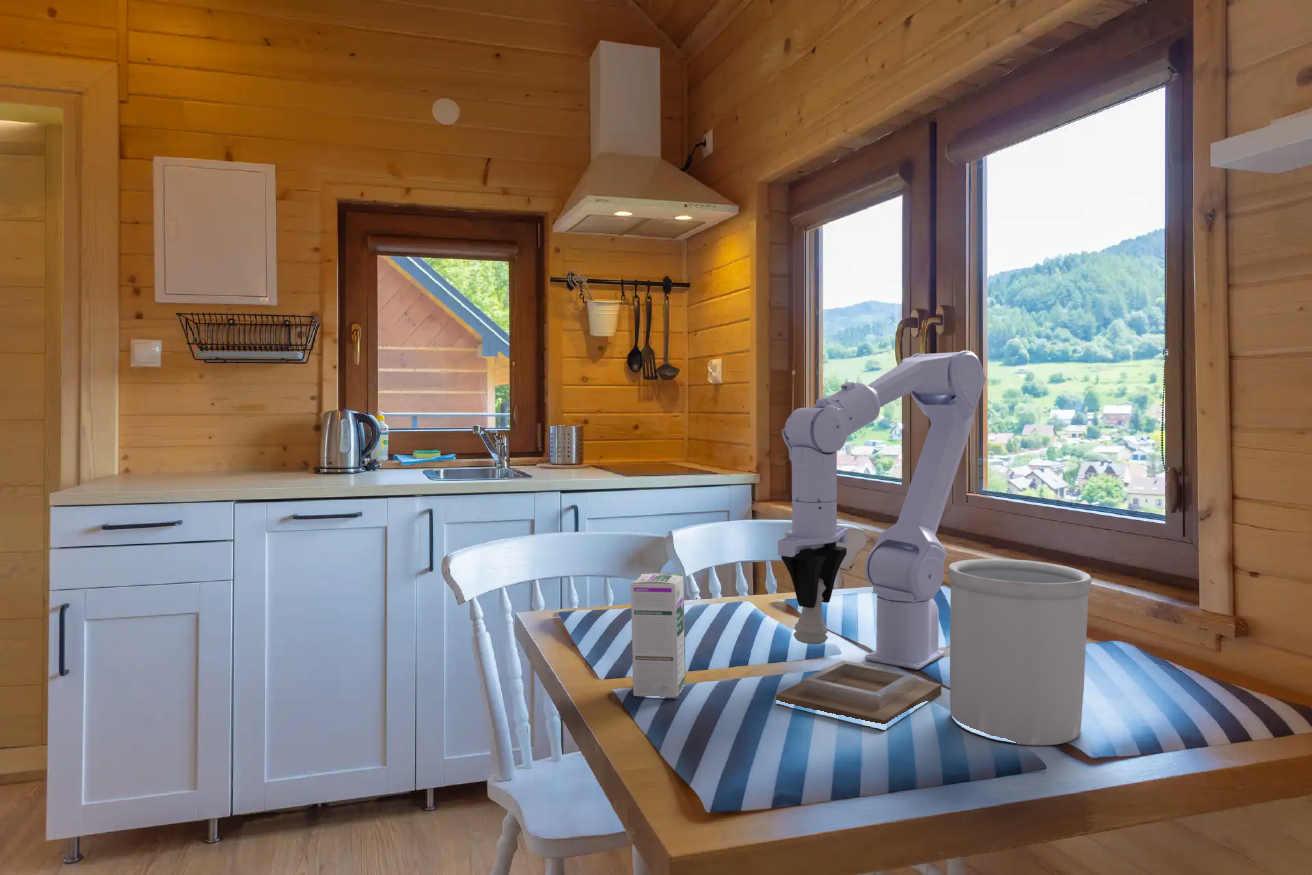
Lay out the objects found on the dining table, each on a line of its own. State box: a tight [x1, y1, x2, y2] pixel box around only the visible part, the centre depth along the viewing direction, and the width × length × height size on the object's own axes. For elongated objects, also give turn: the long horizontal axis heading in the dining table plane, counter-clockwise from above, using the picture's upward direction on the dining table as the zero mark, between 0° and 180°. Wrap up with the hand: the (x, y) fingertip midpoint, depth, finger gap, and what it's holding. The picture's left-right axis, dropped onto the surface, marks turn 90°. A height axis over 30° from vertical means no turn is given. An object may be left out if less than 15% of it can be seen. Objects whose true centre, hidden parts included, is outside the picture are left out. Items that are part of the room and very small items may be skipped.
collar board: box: [775, 660, 942, 724], centre depth 110 cm, size 16×14×3 cm
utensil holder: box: [947, 558, 1092, 746], centre depth 101 cm, size 15×15×18 cm
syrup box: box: [630, 572, 687, 698], centre depth 113 cm, size 6×6×14 cm
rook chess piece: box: [793, 578, 829, 645], centre depth 118 cm, size 4×4×8 cm
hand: (814, 604), depth 118 cm, fingers closed on rook chess piece, 3 cm apart
